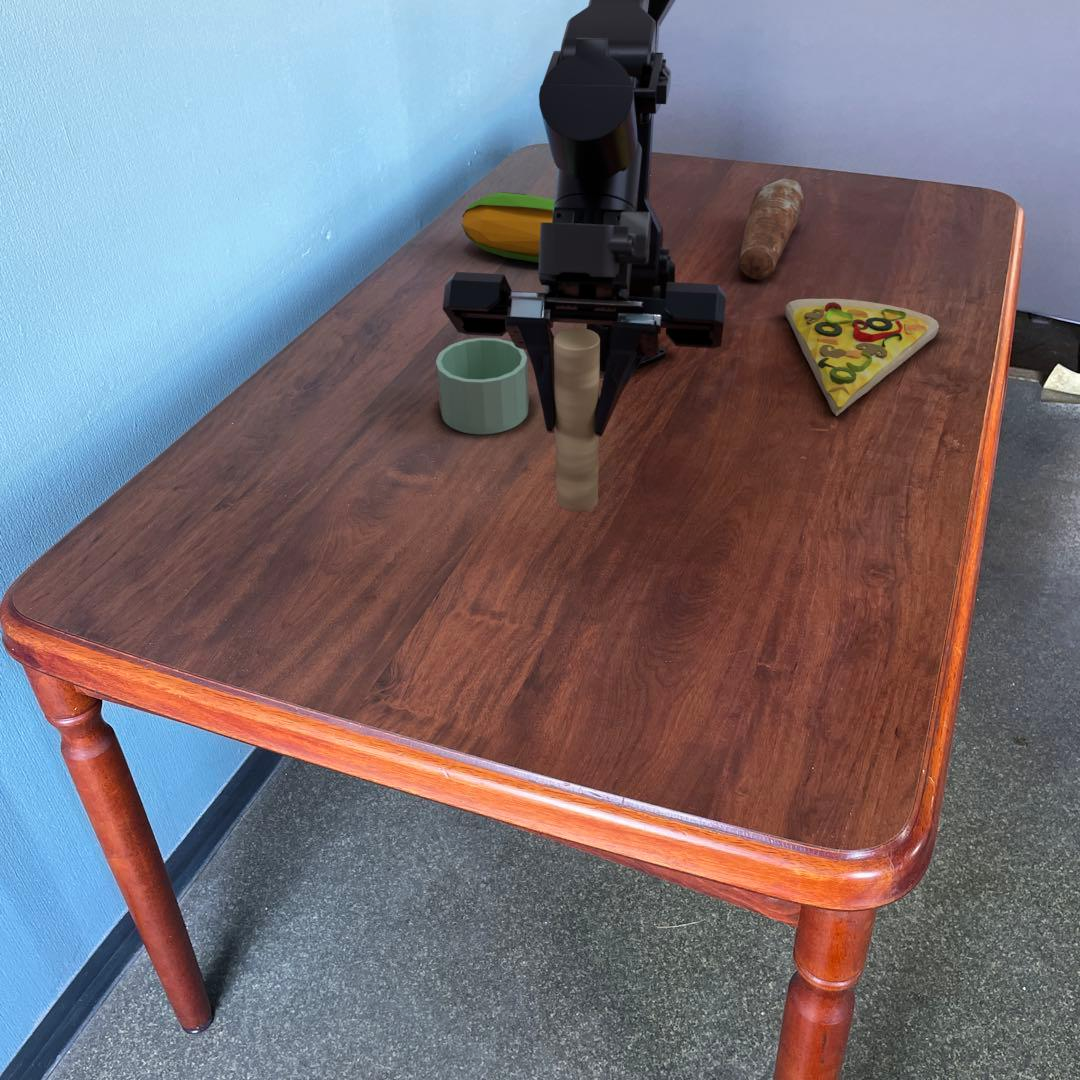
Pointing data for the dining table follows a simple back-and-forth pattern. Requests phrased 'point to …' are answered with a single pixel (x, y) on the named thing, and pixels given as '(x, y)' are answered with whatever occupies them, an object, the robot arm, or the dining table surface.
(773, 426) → the dining table surface
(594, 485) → the dowel
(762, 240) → the bread
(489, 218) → the corn
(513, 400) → the cup
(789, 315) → the pizza slice
